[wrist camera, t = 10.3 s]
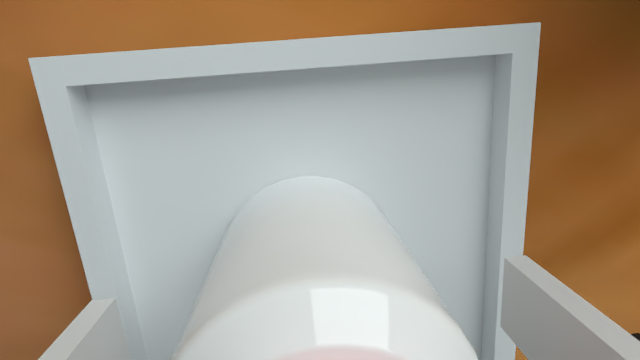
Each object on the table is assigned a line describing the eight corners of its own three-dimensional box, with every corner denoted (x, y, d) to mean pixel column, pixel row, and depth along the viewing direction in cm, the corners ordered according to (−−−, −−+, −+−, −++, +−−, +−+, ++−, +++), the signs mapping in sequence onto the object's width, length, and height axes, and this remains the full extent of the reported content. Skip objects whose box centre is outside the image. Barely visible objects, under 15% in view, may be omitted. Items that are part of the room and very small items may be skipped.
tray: (149, 428, 19) (135, 463, 18) (59, 60, 14) (28, 58, 13) (491, 387, 20) (510, 416, 18) (513, 28, 15) (540, 22, 14)
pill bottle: (430, 243, 17) (659, 520, 6) (321, 360, 18) (363, 754, 8) (295, 137, 15) (302, 275, 5) (185, 274, 17) (-5, 628, 6)
